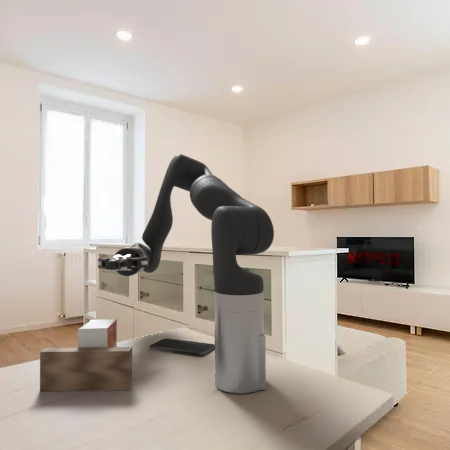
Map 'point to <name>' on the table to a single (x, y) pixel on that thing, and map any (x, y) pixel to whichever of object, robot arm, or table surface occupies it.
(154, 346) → the phone
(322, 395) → the table surface
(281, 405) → the table surface
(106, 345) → the small box
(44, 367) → the walnut board
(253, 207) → the robot arm
